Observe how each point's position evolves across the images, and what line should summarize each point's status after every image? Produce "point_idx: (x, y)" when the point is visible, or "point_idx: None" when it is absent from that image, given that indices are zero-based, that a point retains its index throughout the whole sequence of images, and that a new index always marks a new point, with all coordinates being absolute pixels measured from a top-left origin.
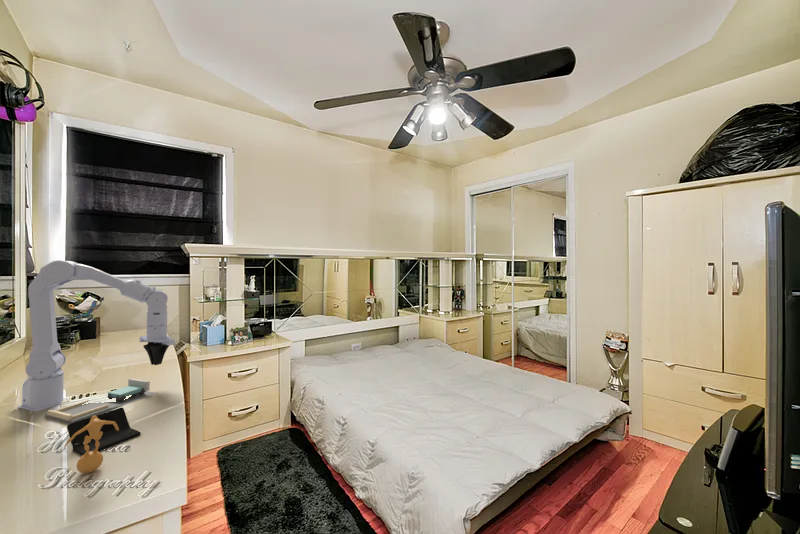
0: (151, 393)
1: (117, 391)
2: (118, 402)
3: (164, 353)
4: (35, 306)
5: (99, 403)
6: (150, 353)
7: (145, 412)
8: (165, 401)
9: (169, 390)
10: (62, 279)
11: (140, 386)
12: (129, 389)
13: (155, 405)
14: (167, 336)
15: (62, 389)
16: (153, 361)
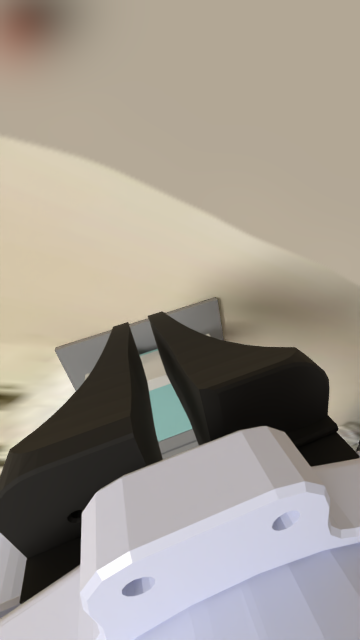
0: (198, 317)
1: (160, 426)
2: None
3: (208, 339)
4: None
5: (165, 444)
6: (160, 451)
7: (326, 362)
8: (306, 302)
9: (208, 248)
10: None
11: None
12: (173, 396)
13: (307, 332)
14: (340, 531)
15: (25, 559)
16: (170, 380)
